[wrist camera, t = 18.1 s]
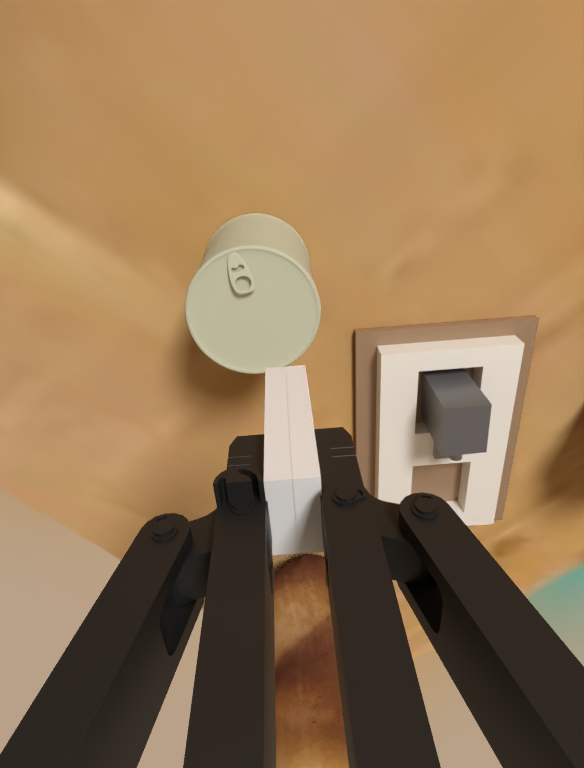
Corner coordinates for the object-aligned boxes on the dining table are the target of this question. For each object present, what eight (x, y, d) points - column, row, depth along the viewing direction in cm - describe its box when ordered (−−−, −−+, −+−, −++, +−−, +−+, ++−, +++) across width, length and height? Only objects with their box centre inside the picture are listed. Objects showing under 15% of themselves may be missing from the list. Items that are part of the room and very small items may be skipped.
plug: (420, 429, 51) (440, 472, 45) (422, 371, 48) (444, 409, 42) (458, 425, 51) (484, 468, 45) (463, 367, 48) (491, 404, 42)
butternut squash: (236, 564, 61) (216, 819, 39) (328, 516, 57) (363, 764, 35) (298, 622, 66) (313, 873, 44) (385, 581, 63) (447, 829, 41)
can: (292, 198, 41) (299, 226, 30) (321, 300, 45) (337, 357, 34) (187, 232, 42) (159, 272, 31) (226, 329, 46) (213, 393, 35)
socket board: (355, 525, 58) (360, 548, 55) (354, 329, 46) (360, 344, 43) (499, 514, 58) (511, 536, 55) (534, 315, 46) (553, 329, 43)
